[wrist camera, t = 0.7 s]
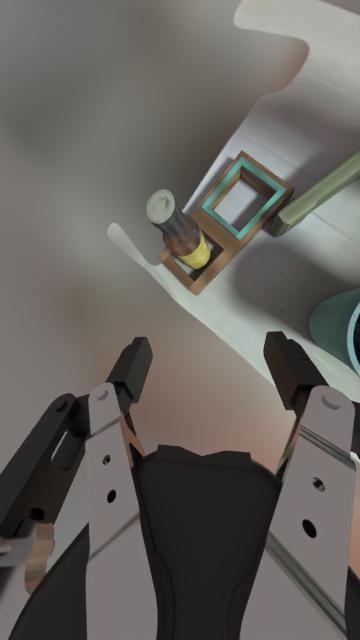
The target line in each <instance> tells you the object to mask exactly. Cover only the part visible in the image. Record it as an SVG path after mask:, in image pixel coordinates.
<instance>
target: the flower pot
mask: <svg viewBox="0 0 360 640" xmlns="http://www.w3.org/2000/svg"><path fill="white" fill-rule="evenodd" d="M357 318H360V287H359V288H356V289H353V290H349V291H346V292H342V293H339V294H335V295H333V296H330V297H328V298H327V299H325V300H323V301H321V302H320V303H319V304H318V305H317V306H316V307H315V308H314V309H313V311H312V313H311V315H310V317H309V321H308V329H309V333H310V335H311V337H312V339H313V340H314V341H315V343H316V344H317V345H318V346H319V347H320V348H322V349H323V350H325V351H326V352H328V353H329V354H331V355H332V356H334V357H335V358H337V359H338V360H340V361H341V362H343V363H345V364H346V365H348V366H349V367H350V368H351V369H352V370H353V371H354V372H355V373H356V374H357V375H358V376H359V377H360V322H357V321H356V320H357ZM354 331H356V334H355V335H353V332H354Z"/></svg>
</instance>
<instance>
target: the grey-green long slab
mask: <svg viewBox="0 0 360 640" xmlns="http://www.w3.org/2000/svg"><path fill="white" fill-rule="evenodd" d="M359 177H360V148H359V149H358V150H357V151H355V152H354V153H353V154H351V155H350V156H349V157H348V158H346V159H345V160H344V161H342V162H341V163H340V164H338V166H337V167H335V168H334V169H333V170H332V171H330V172H329V173H328V174H327V175H325V176H324V177H323V178H321V179H320V180H319V181H318V182H316V183H315V184H314V185H312V186H311V187H310V188H309V189H307V190H306V191H305V192H304V193H302V194H301V195H300V196H298V197H297V198H296V199H295V200H293V201H292V202H291V203H289V204H288V205H287V206H286V207H284V208H283V209H282V210H280V211H279V212H278V214H277V216H276V217H275V219H274V221H273V223H272V225H271V227H270V228H269V231H270V233H271V234H272V235H273V236H274V237H277V236H282V235H283V234H284V233H286V232H287V231H289V230H290V229H291V228H293V227H294V226H296V225H297V224H298V223H300V222H301V221H302V220H303V219H304V218H305V217H306V216H307V215H308V214H309V213H311V212H312V211H313V210H315V209H316V208H317V207H319V206H320V205H322V204H323V203H324V202H326V201H327V200H328V199H330V198H331V197H333V196H334V195H335V194H337V193H338V192H339V191H341V190H342V189H344V188H345V187H346V186H348V185H349V184H350V183H352V182H353V181H355V180H356V179H357V178H359Z"/></svg>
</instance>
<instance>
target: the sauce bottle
mask: <svg viewBox="0 0 360 640" xmlns="http://www.w3.org/2000/svg"><path fill="white" fill-rule="evenodd" d="M146 213H147V217H148V218H149V220H150V221H151V223H152V224H153V225H154V226H156V227H157V228H159V229H160V230H161V231H162V232H163V240H164V242H165V244H166V246H167V247H168V248H169V249H170V250H171V251H172V252H173V253H174V254H175V255H176V256H177V257H178V258H179V259H181V260H182V261H183V262H184V263H185V264H186V265H188V266H189V267H191V268H192V269H201V268H204V267H205V266H206V265H207V264H208V262H209V260H210V248H209V246H208V244H207V242H206V240H205V238H204V235H203V233H202V231H201V229H200V227H199V225H198V223H197V221H196V220H195V219H194V218H192V217H191V216H189V215H186V214H184V213H183V212H182V211H181V210H180V208H179V206H178V202H177V200H176V198H175V197H174V195H173V194H172V193H171V192H170V191H169V190H164V189H163V190H159V191H157V192H155V193H154V194H153V195H152V196H151V197H150V199H149V201H148V203H147V206H146Z"/></svg>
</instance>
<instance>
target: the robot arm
mask: <svg viewBox="0 0 360 640" xmlns="http://www.w3.org/2000/svg"><path fill="white" fill-rule="evenodd" d="M263 353H264V358H265V361H266V363H267V365H268V368H269V370H270V373H271V375H272V378H273V380H274V383H275V385H276V387H277V390H278V392H279V395H280V397H281V400H282V402H283V405H284V407H285V409H286V410H294V412H295V414H296V419H295V421H294V425H293V427H292V430H291V433H290V436H289V438H288V441H287V444H286V447H285V449H284V452H283V454H282V456H281V459H280V461H279V464H278V466H277V469H276V471H275V474H273V473H272V472H271V471H270V470H269V469H267V468H266V467H264V466H263V465H261V464H260V463H258V462H256V461H254V460H252V459H251V456H250V453H247V452H235V451H222V452H218V453H214V454H210V455H205V456H200V455H198V454H195V453H193V452H191V451H188V450H186V449H184V448H182V447H179V446H169V445H158V449H157V451H155V452H152V453H150V454H148V455H147V456H146V453H145V451H144V448H143V446H142V444H141V442H140V439H139V437H138V433H137V430H136V427H135V424H134V420H133V417H132V414H131V411H130V406H131V403H138V401H139V398H140V395H141V392H142V389H143V386H144V383H145V380H146V377H147V374H148V371H149V368H150V365H151V362H152V358H153V353H152V350H151V347H150V344H149V342H148V339H147V337H135V338H134V340H133V342H132V344H131V345H128V346H127V347H126V348H125V349H124V350H123V351H122V353H121V355H120V357H119V359H118V361H117V362H116V364H115V366H114V368H113V370H112V371H111V373H110V375H109V377H108V379H107V380H106V382H105V383H103V384H100V385H99V386H97V387H96V388H95V389H94V390H93V391H92V392H91V394H87V395H84V396H81V397H77V398H76V397H75V396H74V395H73V394H71V393H68V394H64V395H61V396H60V397H58V398H57V399H55V400H54V401H53V402H52V403H51V404H50V406H49V407H48V409H47V410H46V411H45V413H44V414H43V415H42V417H41V418H40V420H39V421H38V423H37V424H36V425H35V427H34V428H33V429H32V431H31V433H30V434H29V435H28V437H27V438H26V439H25V441H24V442H23V443H22V445H21V446H20V448H19V449H18V451H17V452H16V453H15V455H14V456H13V458H12V459H11V460H10V462H9V463H8V464H7V466H6V467H5V469H4V470H3V471H2V473H1V474H0V640H360V579H359V578H358V577H357V575H356V574H355V573H354V572H353V570H352V569H351V568H350V567H349V565H348V559H349V546H350V536H351V524H352V514H353V503H354V491H355V481H356V466H355V463H354V462H353V461H352V460H351V459H350V451H351V452H354V453H356V454H357V456H358V458H359V459H360V403H357V402H354V401H351V400H350V399H349V398H348V397H347V396H346V395H344V394H343V393H342V392H340V391H338V390H336V389H334V388H332V387H330V386H329V385H328V383H327V382H326V380H325V379H324V378H323V376H322V375H321V373H320V372H319V370H318V369H317V368H316V366H315V365H314V363H313V362H312V361H311V360H310V358H309V356H308V355H307V354H306V352H305V351H304V349H303V348H302V346H301V345H300V344H298V343H297V342H295V341H294V340H293V339H287V338H286V336H285V335H284V333H283V332H282V331H274V332H267V335H266V339H265V344H264V350H263ZM65 431H66V432H67V434H66V436H65V437H64V439H63V441H62V443H61V445H60V447H59V448H58V450H57V452H56V454H55V456H54V458H53V459H52V461H51V457H52V454H53V452H54V451H55V448H56V447H57V445H58V443H59V442H60V440H61V438H62V436H63V435H64V433H65ZM85 452H86V472H87V493H88V514H89V522H88V523H87V525H86V526H85V527H84V528H83V529H82V531H81V532H80V533H79V534H78V536H77V537H76V538H75V539H74V540H73V542H72V543H71V544H70V545H69V547H68V548H67V549H66V550H65V551H64V553H63V554H62V555H61V556H60V558H59V559H58V560H57V561H56V563H55V564H54V565H53V566H52V567H51V569H50V570H49V571H48V572H47V574H46V566H47V561H48V560H49V558H50V557H51V555H52V553H53V551H54V547H55V540H54V527H53V526H54V523H55V521H56V519H57V517H58V514H59V512H60V510H61V507H62V505H63V503H64V500H65V498H66V496H67V493H68V491H69V489H70V486H71V484H72V482H73V479H74V477H75V475H76V473H77V470H78V468H79V466H80V463H81V461H82V459H83V456H84V454H85Z"/></svg>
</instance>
